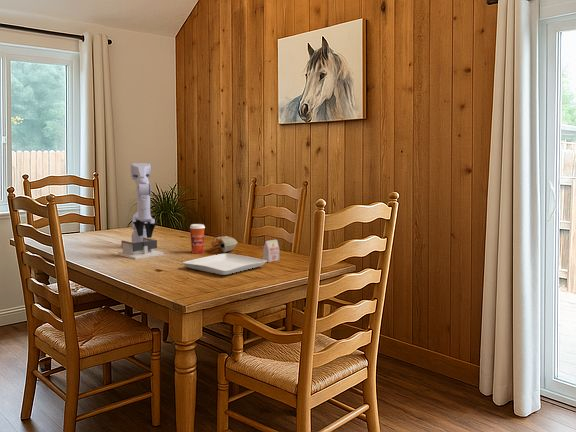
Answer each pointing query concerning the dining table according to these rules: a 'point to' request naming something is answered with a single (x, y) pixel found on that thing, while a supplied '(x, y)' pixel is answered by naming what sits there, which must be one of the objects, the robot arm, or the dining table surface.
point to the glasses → (142, 244)
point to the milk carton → (271, 251)
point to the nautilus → (223, 244)
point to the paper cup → (197, 238)
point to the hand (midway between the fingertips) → (144, 236)
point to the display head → (138, 252)
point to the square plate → (224, 263)
